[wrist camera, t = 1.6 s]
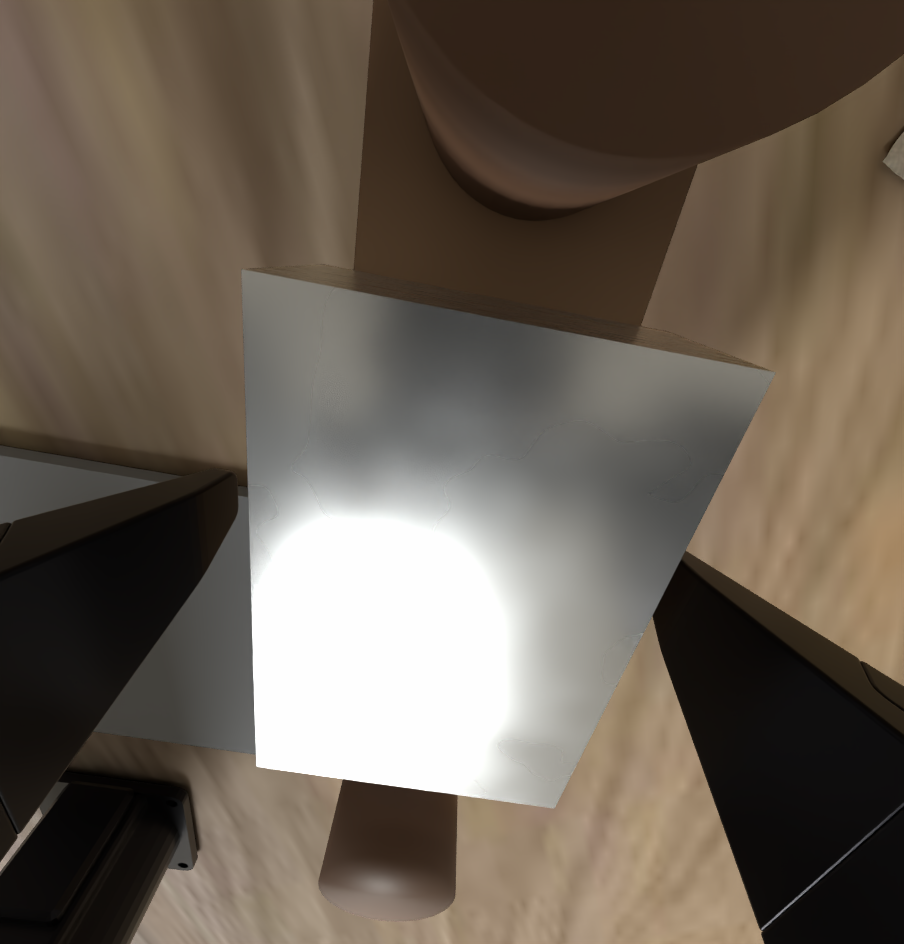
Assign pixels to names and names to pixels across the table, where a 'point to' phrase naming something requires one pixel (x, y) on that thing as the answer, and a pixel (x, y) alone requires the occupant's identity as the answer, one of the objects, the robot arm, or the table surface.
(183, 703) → the rubber mat
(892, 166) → the condiment
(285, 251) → the table surface
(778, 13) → the plane body
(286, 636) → the lever cap
